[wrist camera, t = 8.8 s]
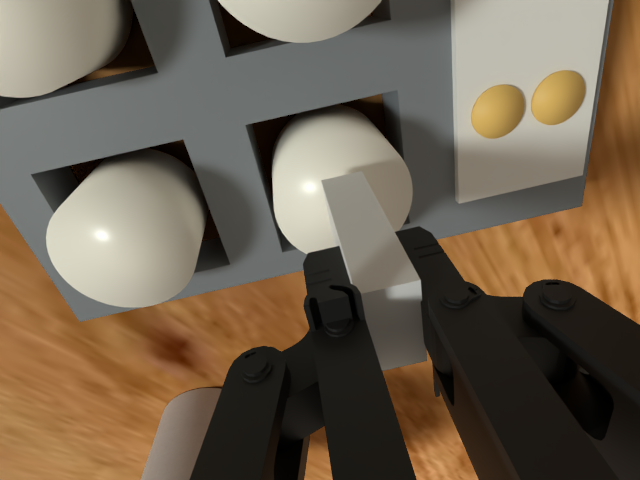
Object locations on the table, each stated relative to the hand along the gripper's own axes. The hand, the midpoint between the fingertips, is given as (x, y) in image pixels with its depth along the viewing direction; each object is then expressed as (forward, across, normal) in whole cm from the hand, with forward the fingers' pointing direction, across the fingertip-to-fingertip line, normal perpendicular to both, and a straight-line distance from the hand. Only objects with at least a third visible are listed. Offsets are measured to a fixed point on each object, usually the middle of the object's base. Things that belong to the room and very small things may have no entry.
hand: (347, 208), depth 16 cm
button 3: (+6, 0, 0) cm, 6 cm away
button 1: (+6, -9, 0) cm, 11 cm away
